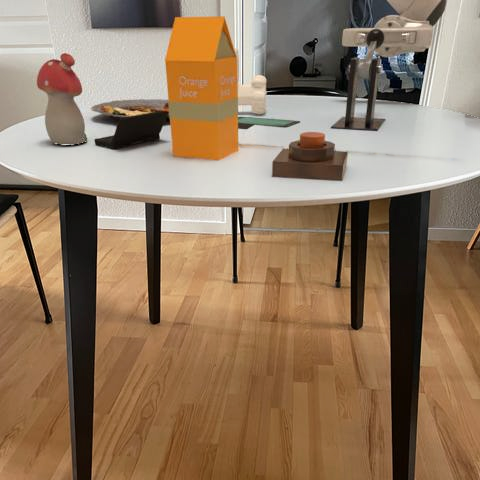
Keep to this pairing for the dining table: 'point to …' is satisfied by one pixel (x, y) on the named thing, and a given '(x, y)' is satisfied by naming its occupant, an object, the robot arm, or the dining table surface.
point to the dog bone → (254, 94)
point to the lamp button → (312, 139)
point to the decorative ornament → (62, 101)
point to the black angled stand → (135, 130)
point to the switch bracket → (349, 120)
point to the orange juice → (202, 88)
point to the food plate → (131, 107)
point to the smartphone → (264, 122)
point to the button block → (310, 162)
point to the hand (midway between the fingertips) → (382, 38)
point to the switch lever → (370, 53)
